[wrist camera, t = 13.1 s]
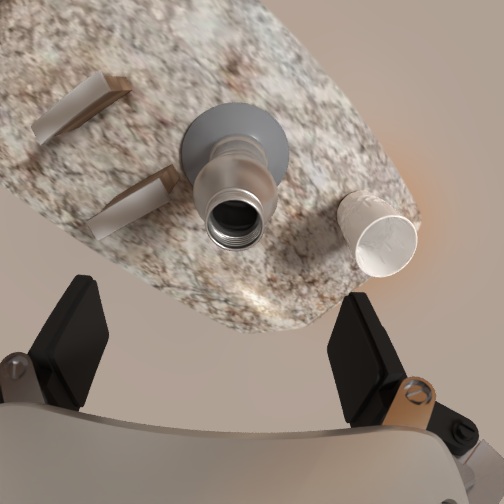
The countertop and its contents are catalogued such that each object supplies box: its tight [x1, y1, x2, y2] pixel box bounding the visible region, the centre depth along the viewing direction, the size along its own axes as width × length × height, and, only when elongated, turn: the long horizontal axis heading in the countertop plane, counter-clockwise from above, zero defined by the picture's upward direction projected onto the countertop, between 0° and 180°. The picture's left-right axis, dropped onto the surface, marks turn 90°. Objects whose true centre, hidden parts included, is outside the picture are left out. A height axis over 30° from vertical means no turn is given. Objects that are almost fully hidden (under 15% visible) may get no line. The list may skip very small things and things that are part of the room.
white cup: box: [337, 190, 417, 277], centre depth 37 cm, size 8×8×10 cm
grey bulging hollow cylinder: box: [193, 133, 278, 251], centre depth 28 cm, size 6×7×20 cm
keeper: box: [31, 71, 180, 241], centre depth 31 cm, size 16×10×9 cm, turn 25°
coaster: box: [182, 103, 289, 186], centre depth 37 cm, size 13×13×1 cm
